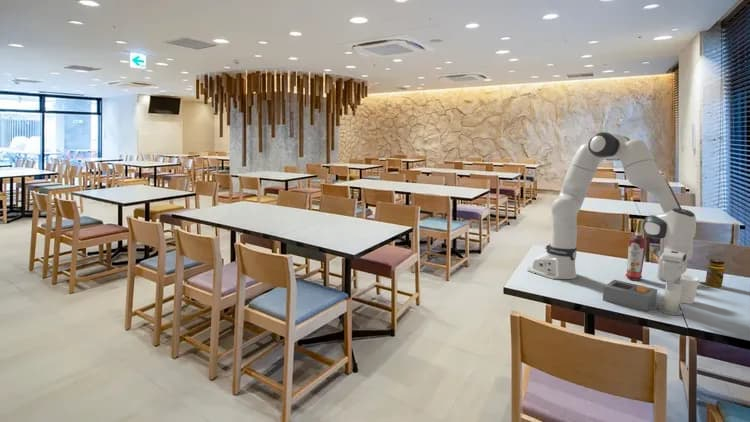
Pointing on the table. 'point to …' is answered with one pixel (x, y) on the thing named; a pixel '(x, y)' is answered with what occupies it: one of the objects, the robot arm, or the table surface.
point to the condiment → (714, 274)
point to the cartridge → (672, 297)
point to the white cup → (688, 289)
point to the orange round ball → (642, 288)
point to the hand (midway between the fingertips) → (673, 287)
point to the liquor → (636, 253)
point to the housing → (629, 295)
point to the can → (660, 268)
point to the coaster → (669, 312)
